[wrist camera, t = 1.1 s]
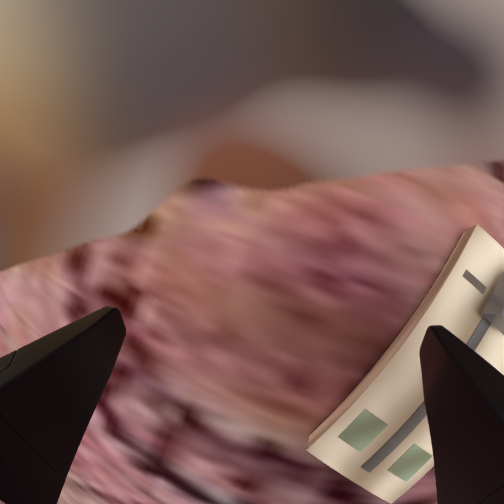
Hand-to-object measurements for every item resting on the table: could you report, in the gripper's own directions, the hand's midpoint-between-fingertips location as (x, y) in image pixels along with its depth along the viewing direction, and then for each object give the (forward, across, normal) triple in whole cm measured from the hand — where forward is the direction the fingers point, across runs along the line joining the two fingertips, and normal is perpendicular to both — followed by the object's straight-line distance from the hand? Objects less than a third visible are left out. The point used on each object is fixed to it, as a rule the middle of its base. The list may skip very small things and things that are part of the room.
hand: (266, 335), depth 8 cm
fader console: (+10, -13, +13) cm, 21 cm away
